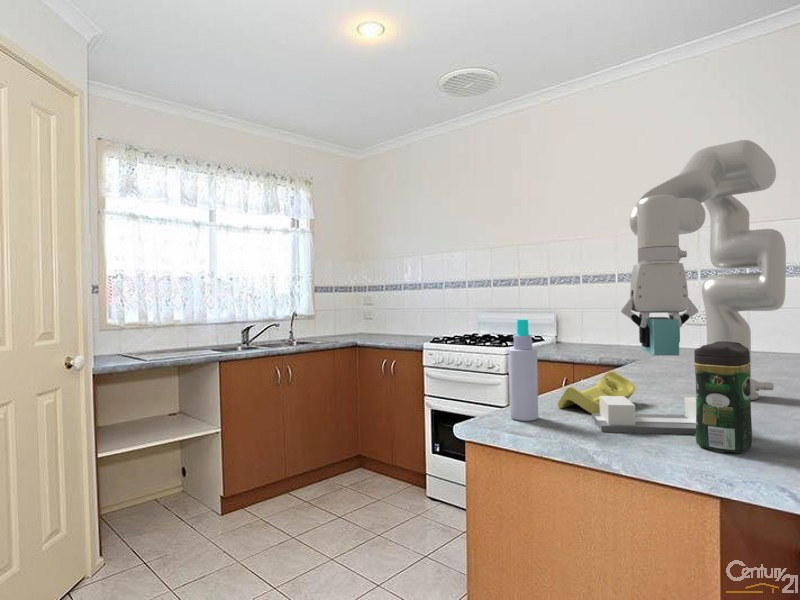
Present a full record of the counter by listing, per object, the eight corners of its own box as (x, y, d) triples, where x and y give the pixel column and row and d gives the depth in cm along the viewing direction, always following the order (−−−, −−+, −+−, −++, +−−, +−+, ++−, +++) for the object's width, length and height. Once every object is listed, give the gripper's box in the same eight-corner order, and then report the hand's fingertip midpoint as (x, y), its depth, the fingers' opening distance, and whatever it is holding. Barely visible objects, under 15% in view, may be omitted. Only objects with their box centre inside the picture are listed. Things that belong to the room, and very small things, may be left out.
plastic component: (602, 407, 112) (564, 383, 118) (590, 433, 114) (554, 408, 121) (642, 388, 124) (606, 367, 131) (631, 412, 127) (596, 390, 134)
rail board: (716, 421, 106) (716, 396, 106) (741, 436, 95) (741, 408, 95) (591, 418, 111) (591, 394, 111) (601, 431, 100) (601, 405, 100)
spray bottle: (544, 418, 111) (542, 319, 111) (526, 423, 108) (524, 320, 108) (522, 413, 116) (520, 318, 116) (504, 418, 113) (502, 319, 112)
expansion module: (664, 350, 107) (663, 316, 107) (679, 355, 98) (678, 318, 98) (641, 350, 108) (641, 316, 108) (654, 355, 99) (653, 318, 99)
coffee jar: (706, 436, 95) (705, 338, 95) (756, 445, 90) (755, 340, 89) (689, 447, 89) (687, 342, 89) (742, 457, 83) (740, 345, 83)
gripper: (696, 257, 105) (697, 345, 105) (610, 259, 108) (611, 345, 108) (711, 254, 97) (712, 349, 97) (618, 257, 101) (619, 348, 101)
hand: (659, 345), depth 103 cm, fingers closed on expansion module, 4 cm apart
